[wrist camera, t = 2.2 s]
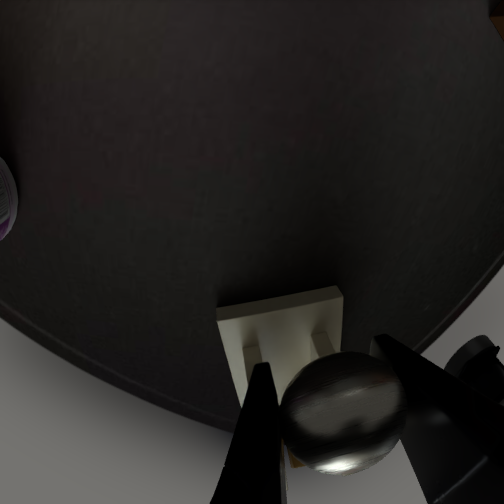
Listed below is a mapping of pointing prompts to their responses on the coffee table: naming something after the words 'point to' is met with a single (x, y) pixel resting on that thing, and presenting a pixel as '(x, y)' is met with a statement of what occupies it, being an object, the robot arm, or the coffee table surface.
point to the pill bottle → (7, 199)
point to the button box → (499, 18)
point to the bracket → (280, 335)
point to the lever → (342, 413)
